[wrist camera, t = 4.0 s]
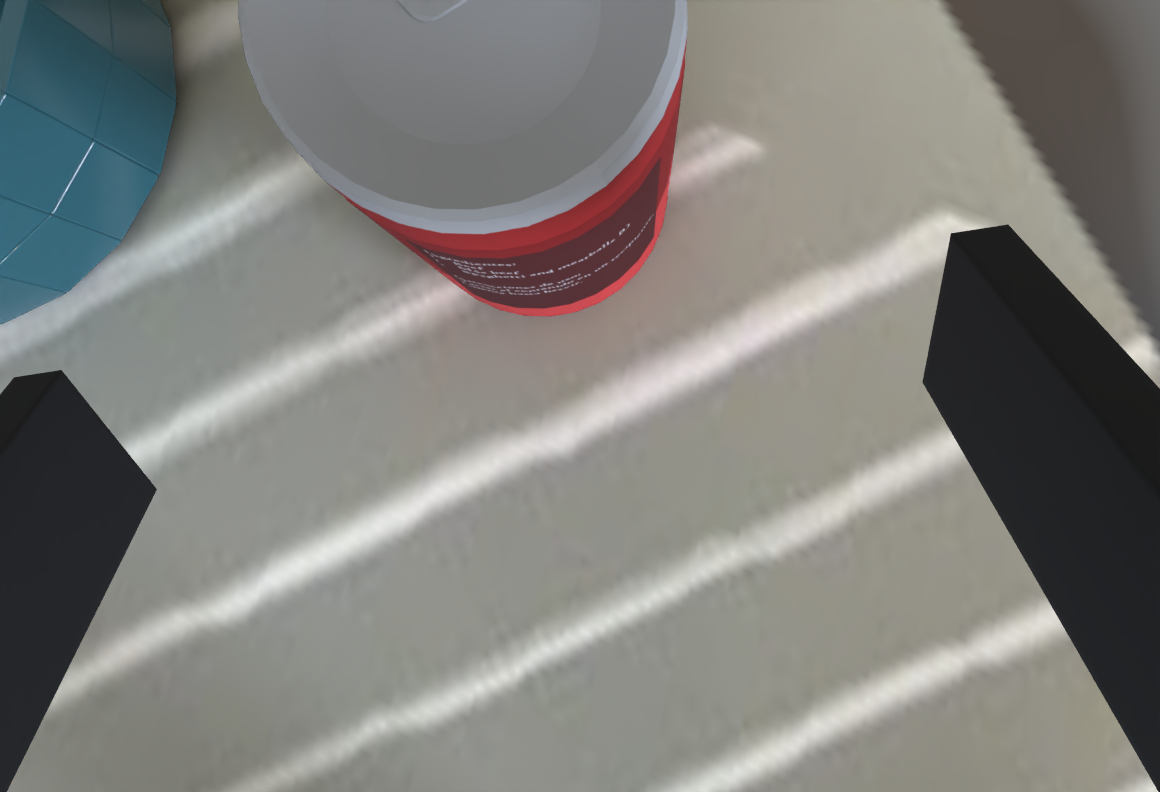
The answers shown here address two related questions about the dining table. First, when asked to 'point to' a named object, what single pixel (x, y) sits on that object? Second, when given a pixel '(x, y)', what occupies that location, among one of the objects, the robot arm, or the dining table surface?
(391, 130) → the canned food
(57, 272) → the teal pet bowl
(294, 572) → the dining table surface
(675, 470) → the dining table surface
